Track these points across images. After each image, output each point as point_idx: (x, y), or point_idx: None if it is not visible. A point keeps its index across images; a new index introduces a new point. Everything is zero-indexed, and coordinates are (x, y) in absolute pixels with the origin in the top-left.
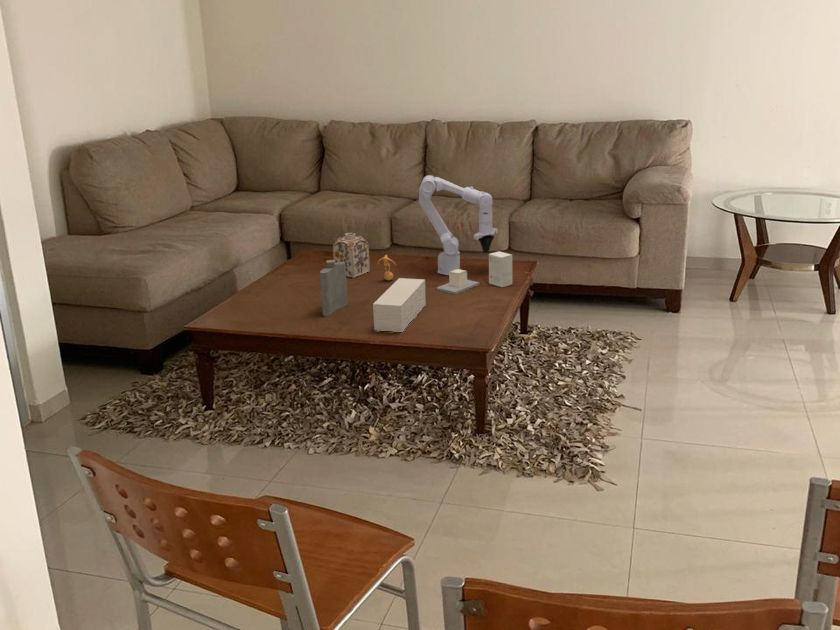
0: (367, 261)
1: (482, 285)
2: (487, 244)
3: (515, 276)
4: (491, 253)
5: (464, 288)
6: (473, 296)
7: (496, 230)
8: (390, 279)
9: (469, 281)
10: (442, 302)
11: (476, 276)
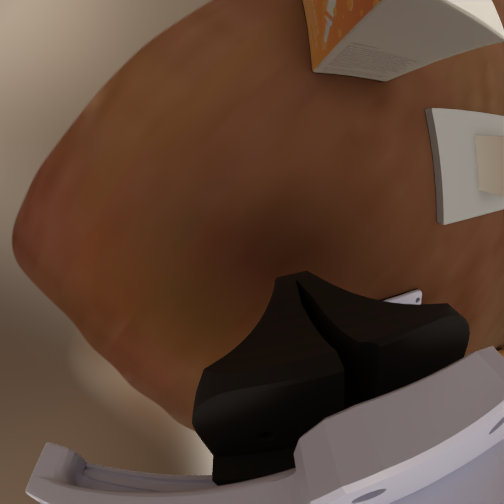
0: None
1: (420, 90)
2: (357, 300)
3: (184, 70)
4: (491, 22)
5: (493, 114)
6: (487, 54)
7: (54, 485)
8: (500, 350)
9: (451, 155)
10: None
11: (353, 220)
